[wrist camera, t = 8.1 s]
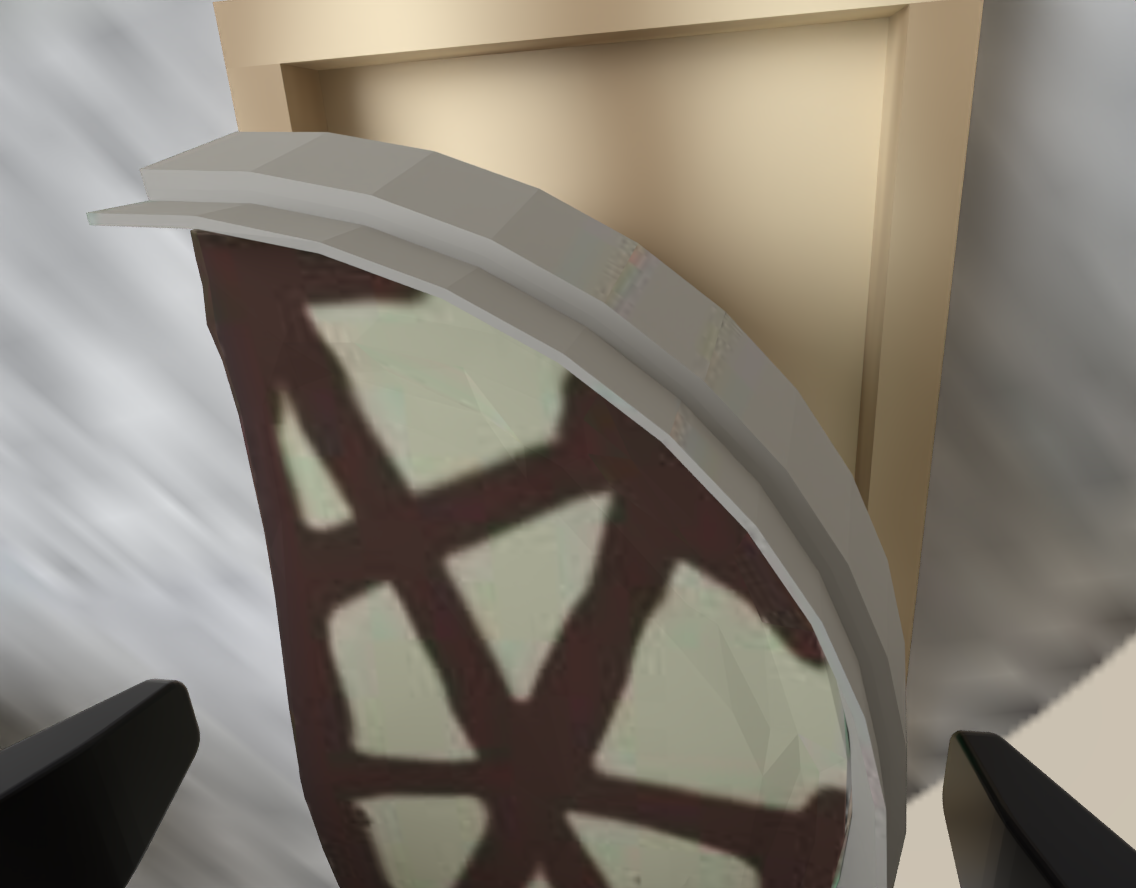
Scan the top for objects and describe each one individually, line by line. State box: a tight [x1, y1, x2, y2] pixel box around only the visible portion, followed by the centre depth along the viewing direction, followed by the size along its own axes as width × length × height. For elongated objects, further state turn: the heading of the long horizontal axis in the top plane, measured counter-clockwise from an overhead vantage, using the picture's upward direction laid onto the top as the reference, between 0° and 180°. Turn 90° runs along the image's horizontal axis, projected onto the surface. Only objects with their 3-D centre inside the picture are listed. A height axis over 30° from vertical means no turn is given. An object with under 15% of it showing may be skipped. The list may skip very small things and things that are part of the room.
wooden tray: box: [213, 0, 984, 682], centre depth 16 cm, size 12×18×2 cm, turn 4°
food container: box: [86, 132, 907, 888], centre depth 11 cm, size 12×6×10 cm, turn 4°
